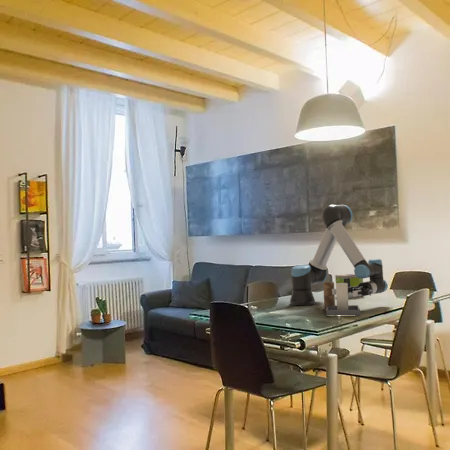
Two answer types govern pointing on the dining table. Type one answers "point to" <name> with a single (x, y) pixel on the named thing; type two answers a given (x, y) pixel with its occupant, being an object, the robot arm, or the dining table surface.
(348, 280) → the tea box
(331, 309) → the tray
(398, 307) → the dining table surface
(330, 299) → the walnut pillar
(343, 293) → the cream pillar
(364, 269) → the robot arm
